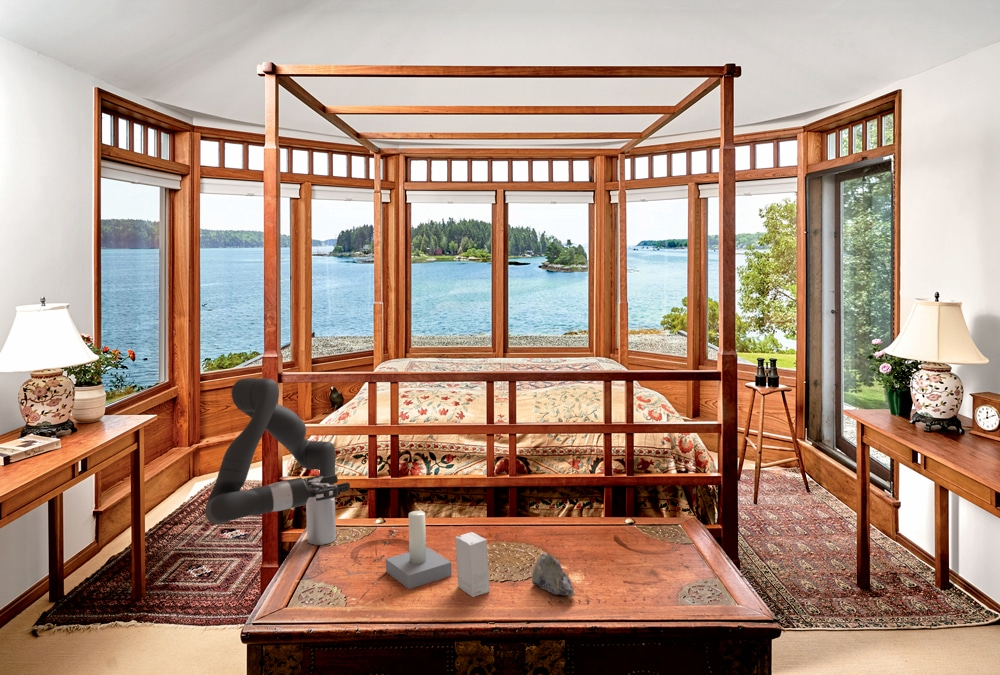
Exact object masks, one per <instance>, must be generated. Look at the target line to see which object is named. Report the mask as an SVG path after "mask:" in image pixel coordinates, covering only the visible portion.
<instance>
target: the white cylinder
mask: <svg viewBox="0 0 1000 675" xmlns="http://www.w3.org/2000/svg"><path fill="white" fill-rule="evenodd" d="M426 530H427V529H426V512H425V511H423V510H413V511H410V512H408V546H409V547H408V548H409V551H408V552H409V553H410V562H411V563H413V564H421V563H424V562H425V561H426V547H427V539H426V536H427V535H426V533H427V532H426Z"/></svg>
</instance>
